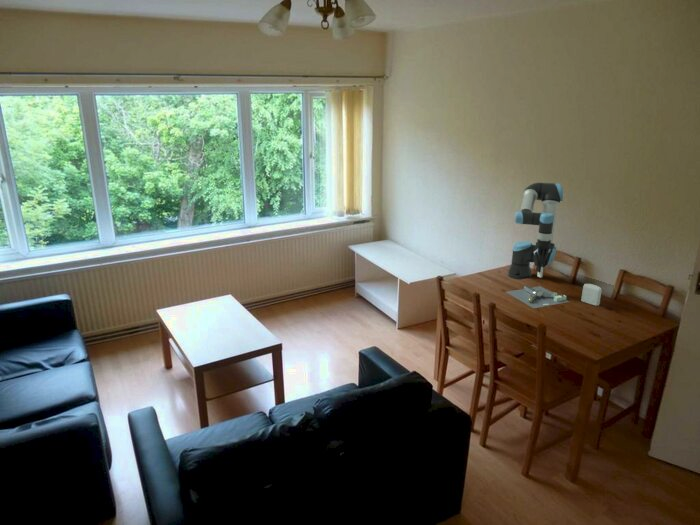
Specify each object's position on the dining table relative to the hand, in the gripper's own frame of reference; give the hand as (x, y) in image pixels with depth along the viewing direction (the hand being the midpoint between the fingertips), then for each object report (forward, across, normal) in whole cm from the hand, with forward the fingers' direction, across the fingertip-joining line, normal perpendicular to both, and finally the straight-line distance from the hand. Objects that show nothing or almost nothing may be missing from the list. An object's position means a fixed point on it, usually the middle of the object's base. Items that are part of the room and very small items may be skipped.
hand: (539, 276), depth 303 cm
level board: (+11, +5, +6) cm, 14 cm away
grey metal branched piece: (+10, +5, +3) cm, 11 cm away
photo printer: (+12, -18, +24) cm, 32 cm away
